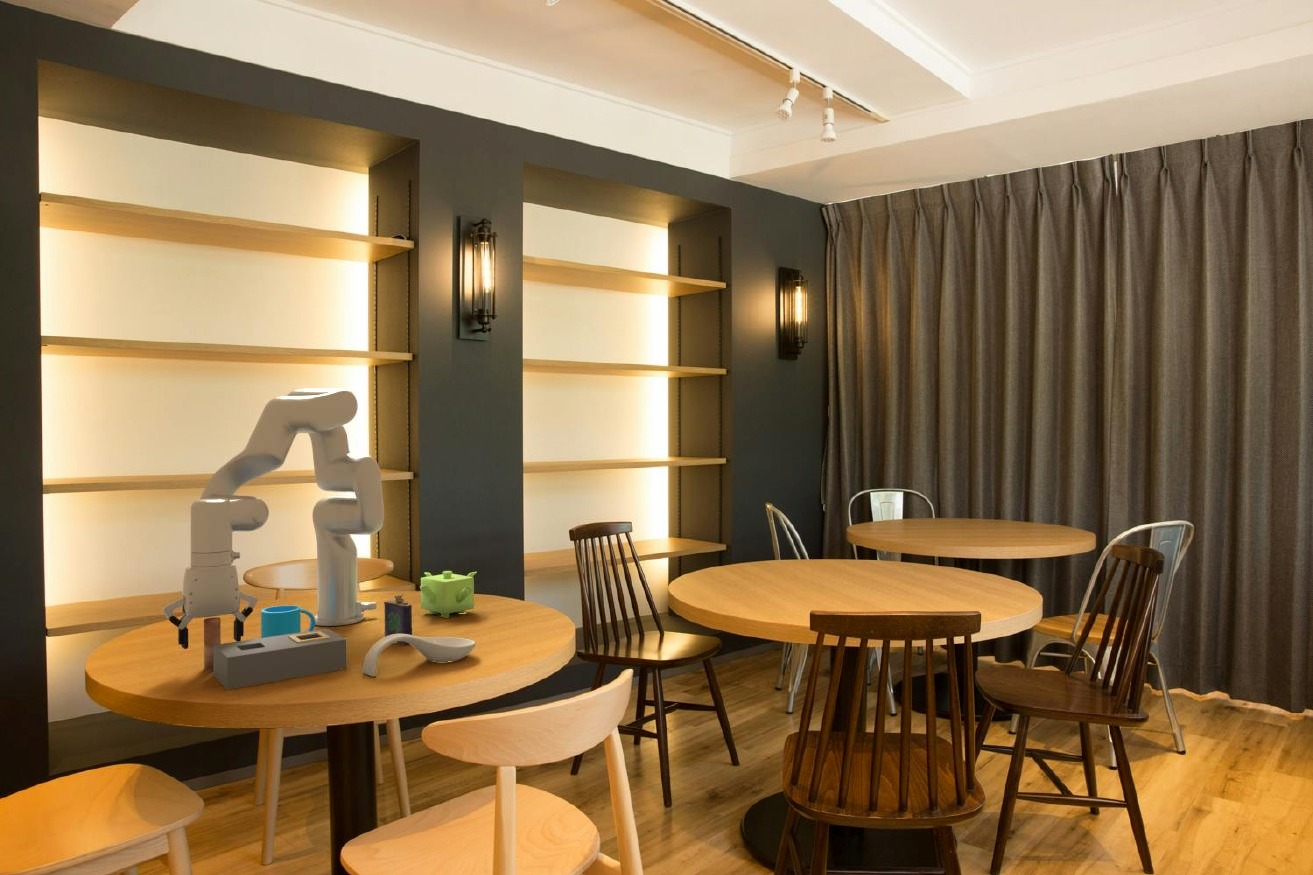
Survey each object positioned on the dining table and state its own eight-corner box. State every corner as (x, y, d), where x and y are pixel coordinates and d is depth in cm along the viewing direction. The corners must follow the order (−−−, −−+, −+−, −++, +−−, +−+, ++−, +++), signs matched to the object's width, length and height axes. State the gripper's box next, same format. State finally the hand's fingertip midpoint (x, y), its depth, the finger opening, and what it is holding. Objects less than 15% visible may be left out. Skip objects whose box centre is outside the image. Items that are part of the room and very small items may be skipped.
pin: (218, 664, 175) (218, 616, 175) (222, 668, 173) (221, 619, 173) (202, 667, 174) (202, 618, 174) (205, 670, 171) (205, 621, 171)
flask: (382, 639, 197) (382, 593, 197) (393, 637, 199) (393, 591, 199) (405, 646, 191) (405, 598, 191) (416, 643, 193) (416, 596, 193)
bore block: (327, 656, 182) (327, 627, 182) (346, 668, 172) (346, 637, 172) (213, 675, 168) (213, 643, 168) (227, 689, 159) (227, 655, 159)
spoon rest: (456, 649, 188) (456, 617, 188) (486, 659, 180) (486, 625, 180) (353, 671, 172) (353, 635, 172) (381, 683, 163) (381, 646, 163)
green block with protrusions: (424, 608, 231) (424, 567, 231) (477, 607, 233) (477, 566, 233) (414, 620, 216) (414, 576, 216) (471, 619, 218) (471, 575, 218)
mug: (270, 651, 186) (270, 614, 186) (255, 645, 192) (254, 609, 192) (323, 641, 195) (323, 606, 195) (307, 636, 200) (307, 601, 200)
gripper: (252, 554, 181) (252, 634, 181) (159, 561, 171) (159, 646, 171) (261, 558, 176) (261, 641, 176) (166, 566, 165) (166, 654, 165)
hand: (211, 643), depth 173 cm, fingers open, 9 cm apart
